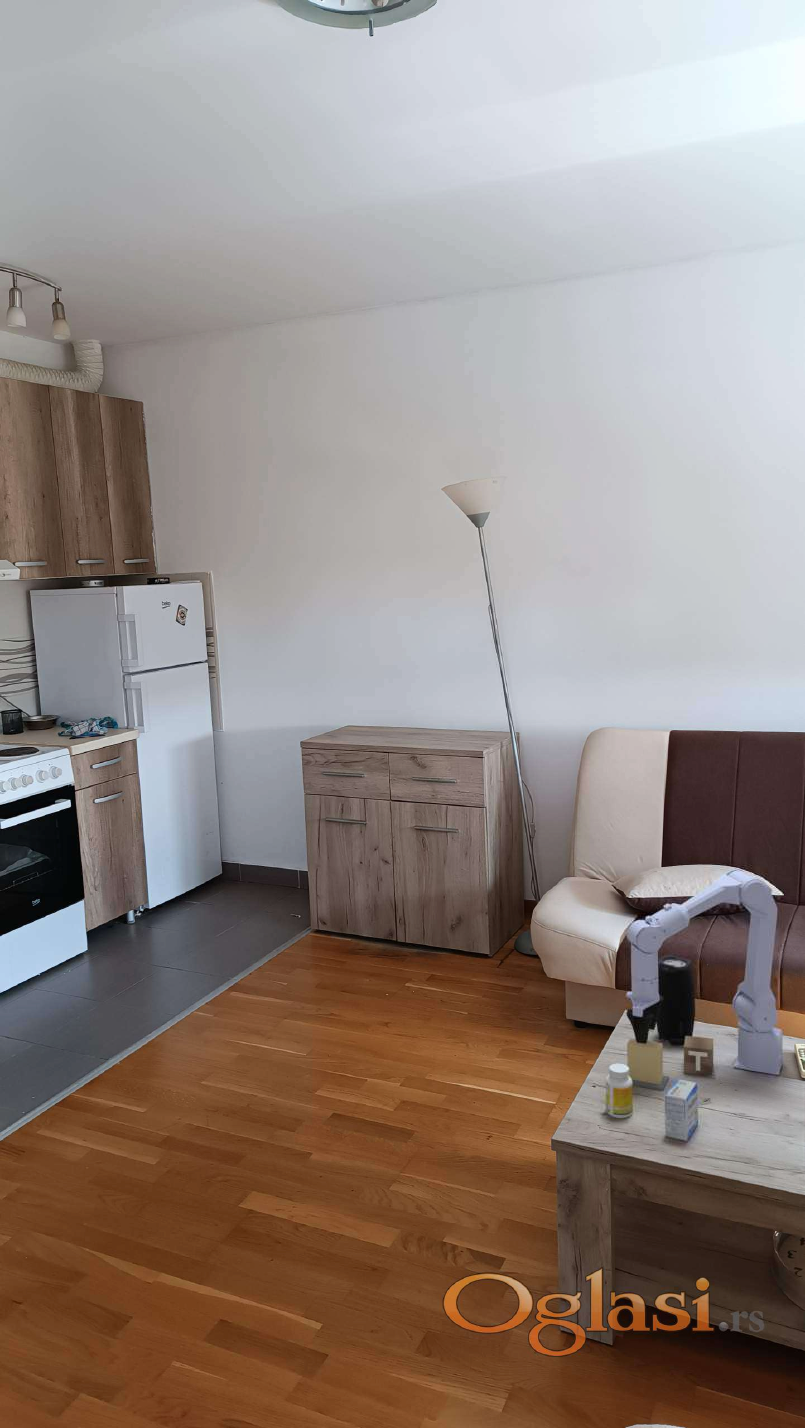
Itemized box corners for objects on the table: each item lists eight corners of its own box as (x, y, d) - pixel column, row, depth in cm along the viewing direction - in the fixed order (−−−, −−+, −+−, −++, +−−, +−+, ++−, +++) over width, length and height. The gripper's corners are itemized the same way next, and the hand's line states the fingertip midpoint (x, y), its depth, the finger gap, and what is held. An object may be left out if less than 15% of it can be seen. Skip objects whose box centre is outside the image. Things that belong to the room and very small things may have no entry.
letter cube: (713, 1064, 222) (713, 1038, 221) (712, 1076, 216) (712, 1050, 216) (685, 1061, 224) (685, 1035, 223) (684, 1073, 218) (683, 1047, 218)
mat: (668, 1078, 216) (668, 1076, 216) (662, 1090, 211) (662, 1088, 211) (628, 1071, 220) (628, 1069, 220) (621, 1083, 215) (621, 1080, 215)
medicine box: (687, 1142, 190) (686, 1099, 189) (664, 1136, 193) (664, 1094, 192) (698, 1124, 197) (698, 1082, 196) (676, 1118, 199) (676, 1077, 198)
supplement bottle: (600, 1112, 203) (600, 1067, 202) (617, 1103, 206) (616, 1059, 205) (621, 1121, 199) (621, 1076, 198) (638, 1112, 202) (637, 1067, 201)
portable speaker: (656, 1030, 241) (655, 953, 239) (696, 1034, 238) (695, 956, 236) (653, 1045, 233) (652, 965, 231) (694, 1049, 230) (694, 968, 228)
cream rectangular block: (662, 1078, 215) (662, 1043, 214) (659, 1084, 212) (659, 1049, 212) (631, 1072, 218) (630, 1038, 217) (627, 1078, 216) (627, 1043, 215)
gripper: (634, 962, 224) (635, 1020, 225) (618, 985, 211) (619, 1046, 212) (666, 966, 220) (666, 1025, 222) (651, 989, 207) (652, 1051, 209)
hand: (645, 1035), depth 217 cm, fingers open, 7 cm apart
